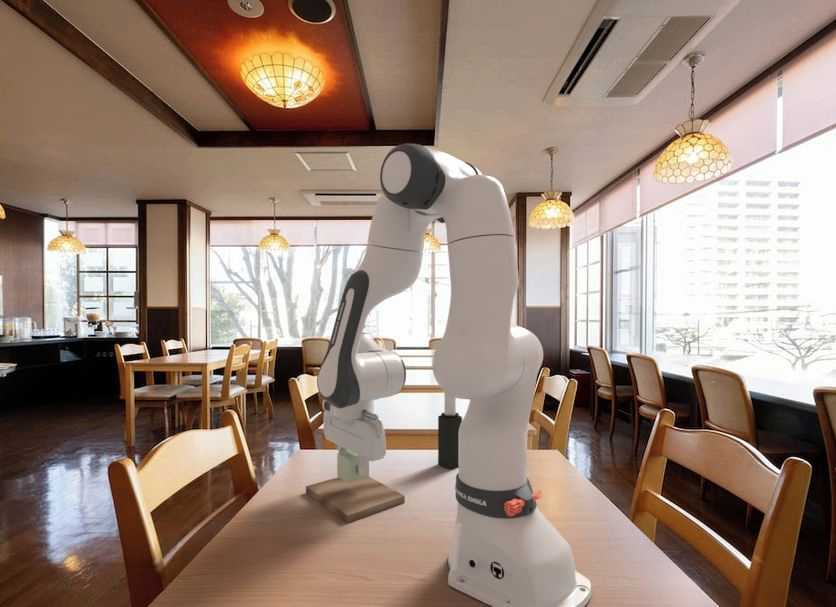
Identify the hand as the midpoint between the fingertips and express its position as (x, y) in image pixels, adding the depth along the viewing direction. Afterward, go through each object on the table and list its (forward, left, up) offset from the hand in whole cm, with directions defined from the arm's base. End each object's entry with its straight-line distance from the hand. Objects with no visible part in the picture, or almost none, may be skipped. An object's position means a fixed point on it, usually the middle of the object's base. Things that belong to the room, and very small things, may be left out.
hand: (353, 469), depth 99 cm
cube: (0, 0, -2) cm, 2 cm away
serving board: (0, 0, -6) cm, 6 cm away
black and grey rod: (+1, -30, -6) cm, 31 cm away
